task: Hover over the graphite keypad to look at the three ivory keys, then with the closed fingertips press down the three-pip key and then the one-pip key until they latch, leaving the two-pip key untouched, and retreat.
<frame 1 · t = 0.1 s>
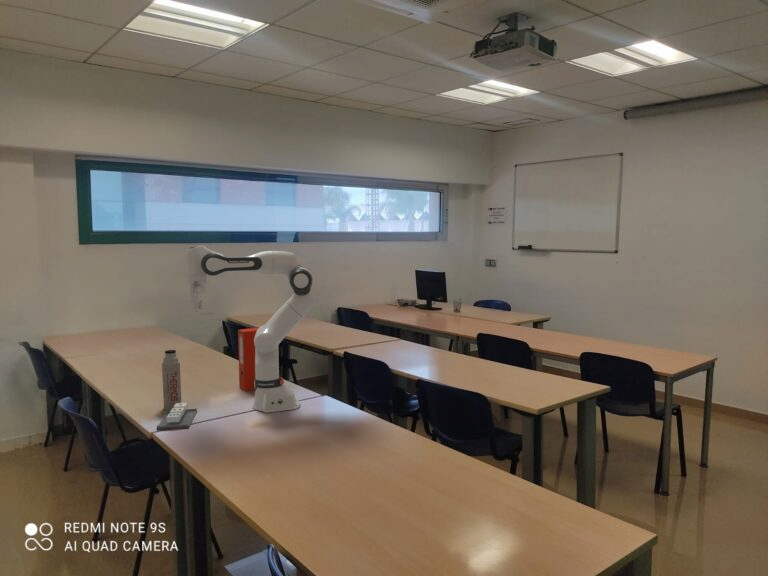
hand: (198, 310, 248), 48 cm above the table, fingers open, 8 cm apart
keypad board: (177, 420, 239), on the table
thermos bottle: (172, 408, 257), on the table
file binder: (257, 387, 292), on the table
key three: (174, 417, 232), point 4 cm above the table, slide at 0.0 cm
key two: (177, 412, 239), point 4 cm above the table, slide at 0.0 cm
key one: (180, 407, 246), point 4 cm above the table, slide at 0.0 cm
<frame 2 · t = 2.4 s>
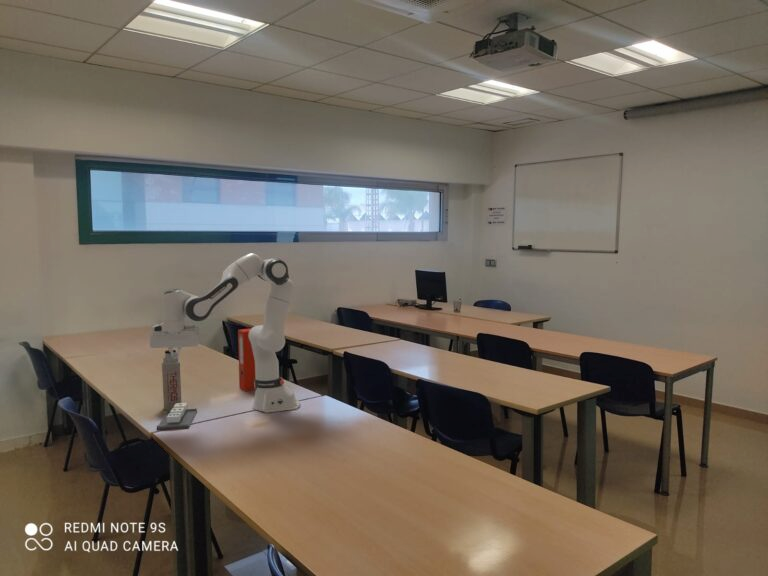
hand: (175, 357, 236), 29 cm above the table, fingers closed
nothing on the table moved.
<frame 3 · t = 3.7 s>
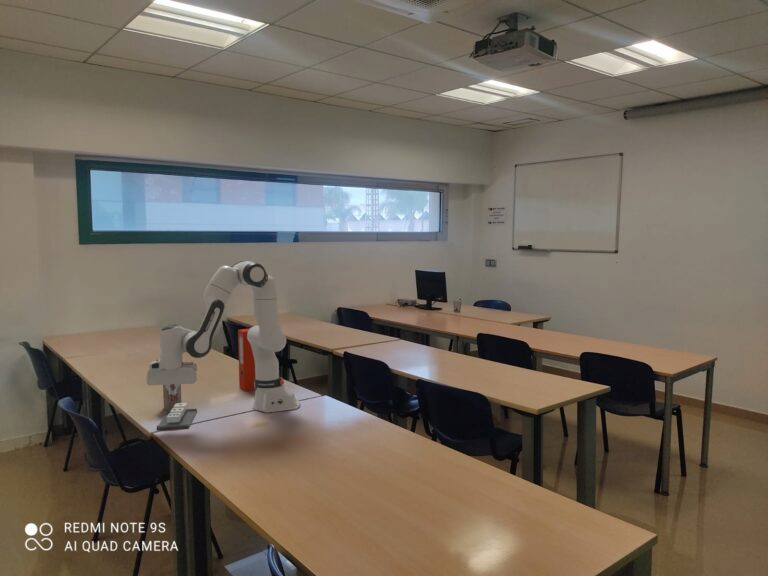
hand: (172, 394, 231), 14 cm above the table, fingers closed
nothing on the table moved.
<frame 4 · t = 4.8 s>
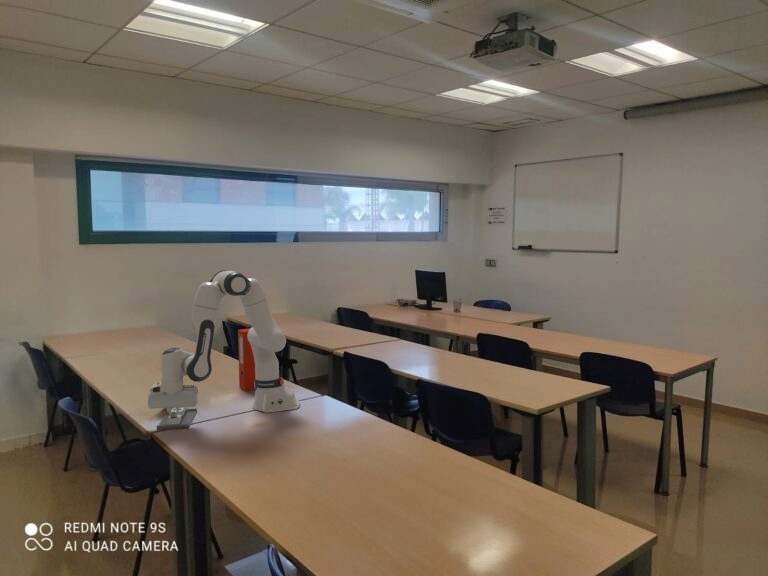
hand: (173, 417, 232), 4 cm above the table, fingers closed, pressing on key three
key three: (174, 419, 232), point 3 cm above the table, slide at 1.1 cm, touching gripper
everything else where it was.
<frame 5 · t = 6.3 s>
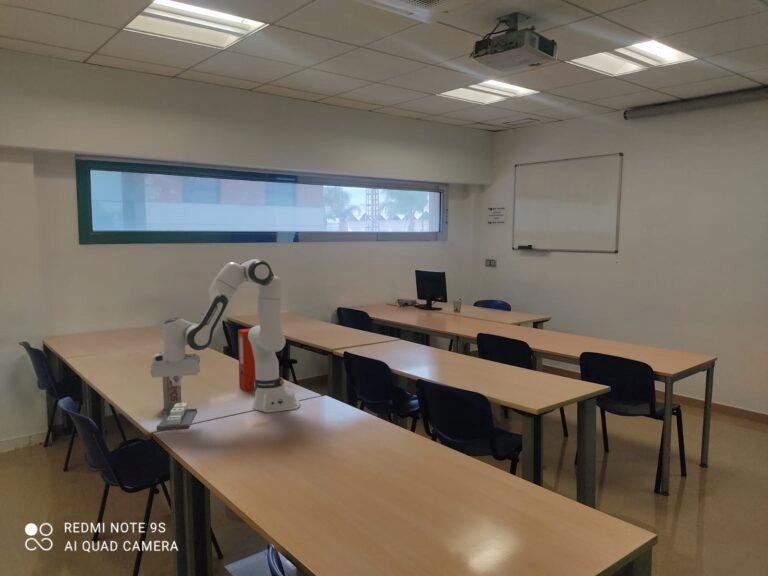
hand: (176, 385, 236), 17 cm above the table, fingers closed
key three: (174, 420, 232), point 3 cm above the table, slide at 1.2 cm
everything else where it was.
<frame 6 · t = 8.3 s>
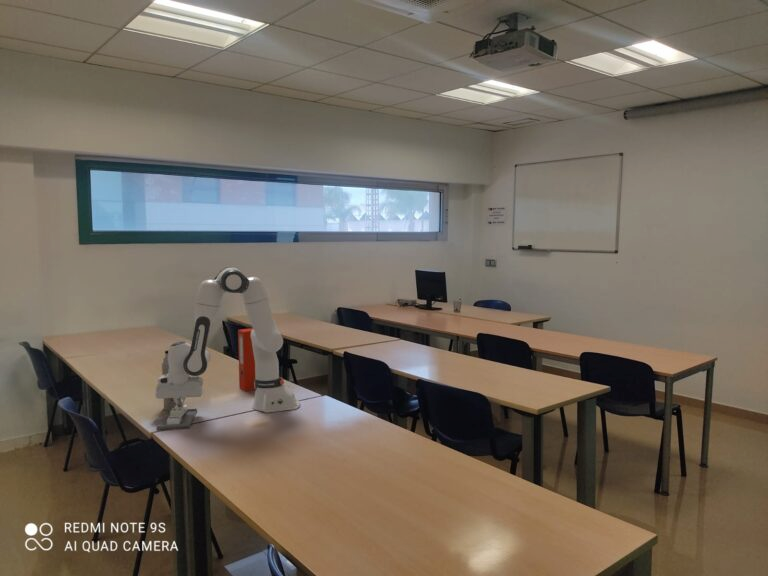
hand: (180, 406, 245), 4 cm above the table, fingers closed
key one: (180, 409, 246), point 3 cm above the table, slide at 1.0 cm
everything else where it was.
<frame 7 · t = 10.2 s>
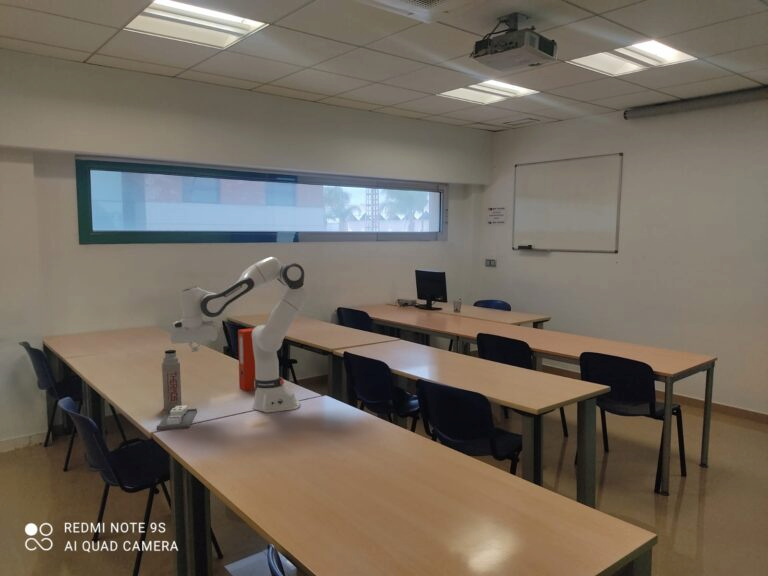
hand: (195, 351, 248), 29 cm above the table, fingers closed
nothing on the table moved.
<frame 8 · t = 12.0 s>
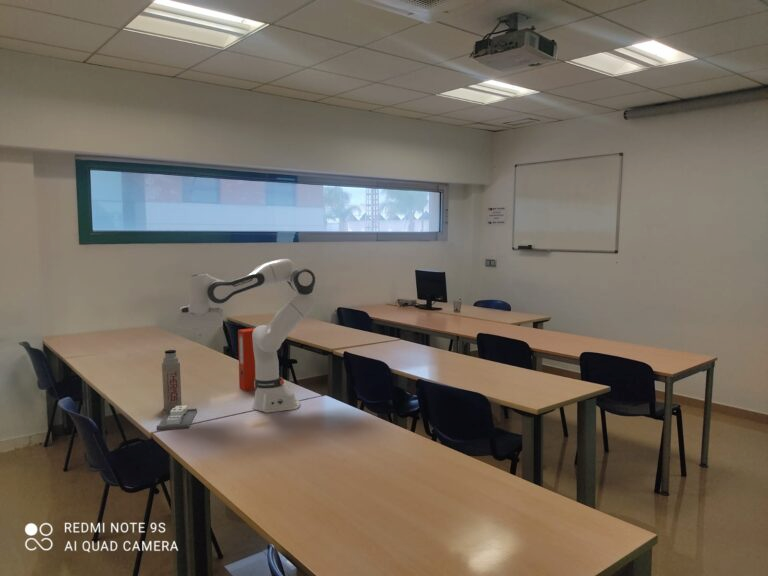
hand: (200, 337, 250), 35 cm above the table, fingers closed
nothing on the table moved.
at the end: key three slide at 1.2 cm; key one slide at 1.2 cm; key two slide at 0.0 cm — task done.
